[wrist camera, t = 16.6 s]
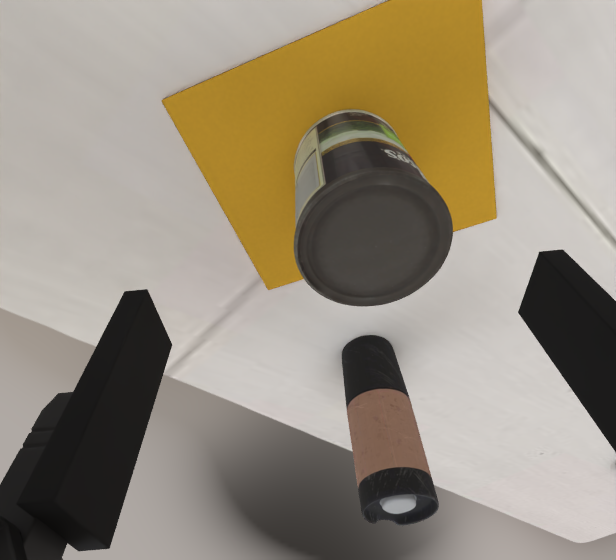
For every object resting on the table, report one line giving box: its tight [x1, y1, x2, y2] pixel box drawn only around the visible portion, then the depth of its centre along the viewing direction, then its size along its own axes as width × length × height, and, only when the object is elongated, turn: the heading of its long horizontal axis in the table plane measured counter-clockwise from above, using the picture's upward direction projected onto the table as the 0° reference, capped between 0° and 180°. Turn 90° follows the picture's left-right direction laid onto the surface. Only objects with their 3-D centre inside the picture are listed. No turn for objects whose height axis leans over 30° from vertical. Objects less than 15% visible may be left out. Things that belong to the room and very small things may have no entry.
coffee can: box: [294, 109, 453, 306], centre depth 30 cm, size 10×10×14 cm
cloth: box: [162, 0, 497, 290], centre depth 36 cm, size 26×22×1 cm
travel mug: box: [342, 336, 439, 525], centre depth 45 cm, size 8×8×20 cm
